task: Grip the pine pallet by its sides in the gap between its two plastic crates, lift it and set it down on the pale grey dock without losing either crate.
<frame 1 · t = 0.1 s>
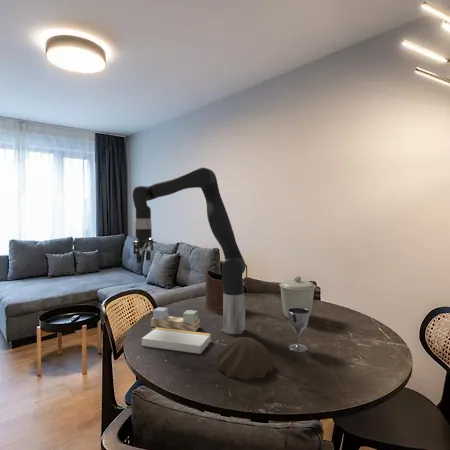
hand: (143, 261, 158), 29 cm above the table, tool pointing down, fingers open, 8 cm apart
decorative dome: (244, 366, 115), on the table
pallet: (175, 327, 151), on the table, touching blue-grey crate, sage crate
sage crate: (190, 320, 149), point 4 cm above the table, touching pallet
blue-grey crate: (160, 317, 153), point 4 cm above the table, touching pallet
wine glass: (298, 348, 129), on the table
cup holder: (225, 308, 180), on the table
canister: (296, 317, 165), on the table
dock: (176, 343, 133), on the table
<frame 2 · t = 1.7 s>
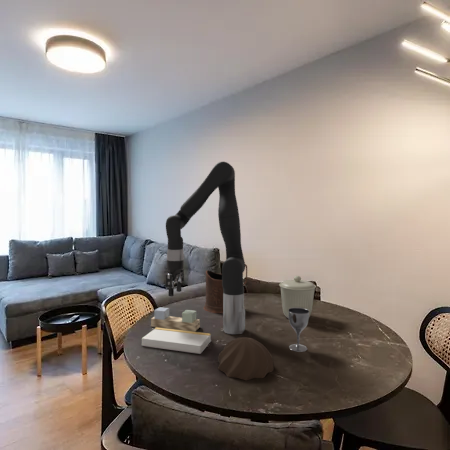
hand: (175, 293, 151), 15 cm above the table, tool pointing down, fingers open, 8 cm apart
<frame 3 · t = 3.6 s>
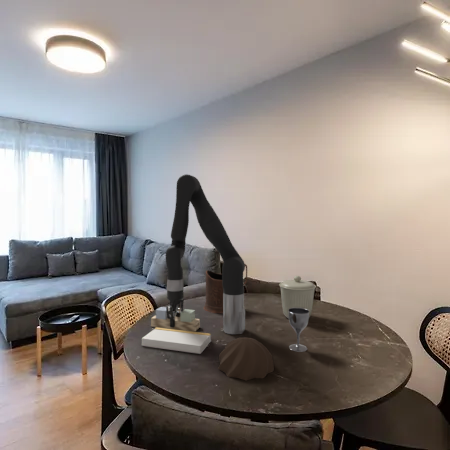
hand: (175, 324, 151), 1 cm above the table, tool pointing down, fingers closed on pallet, 5 cm apart
pallet: (175, 327, 151), on the table, touching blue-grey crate, gripper, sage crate
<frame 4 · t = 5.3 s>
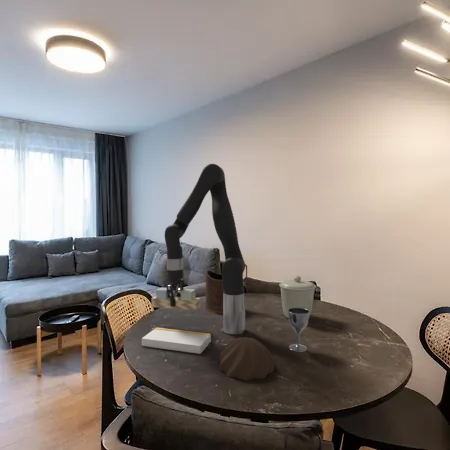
hand: (175, 304, 151), 11 cm above the table, tool pointing down, fingers closed on pallet, 5 cm apart
pallet: (176, 306, 151), point 9 cm above the table, touching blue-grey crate, gripper, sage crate
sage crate: (188, 299, 149), point 14 cm above the table, touching pallet
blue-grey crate: (163, 297, 152), point 13 cm above the table, touching pallet
everything else where it was.
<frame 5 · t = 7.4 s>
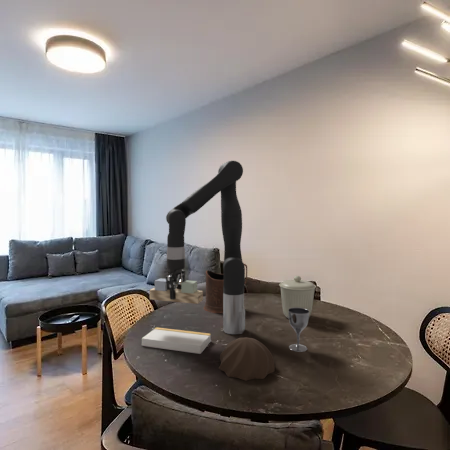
hand: (176, 297, 138), 17 cm above the table, tool pointing down, fingers closed on pallet, 5 cm apart
pallet: (176, 299, 138), point 16 cm above the table, touching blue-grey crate, gripper, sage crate
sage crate: (189, 291, 136), point 20 cm above the table, touching pallet
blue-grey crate: (162, 289, 139), point 20 cm above the table, touching pallet
everything else where it was.
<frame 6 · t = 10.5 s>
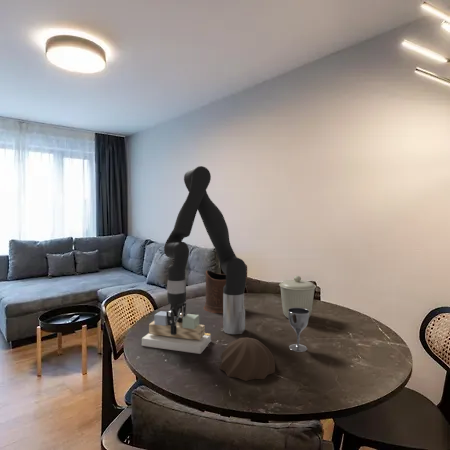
hand: (176, 331, 133), 5 cm above the table, tool pointing down, fingers closed on pallet, 5 cm apart
pallet: (176, 334, 133), point 4 cm above the table, touching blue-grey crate, gripper, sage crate
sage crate: (190, 326, 131), point 8 cm above the table, touching pallet
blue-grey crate: (162, 323, 134), point 8 cm above the table, touching pallet
everything else where it was.
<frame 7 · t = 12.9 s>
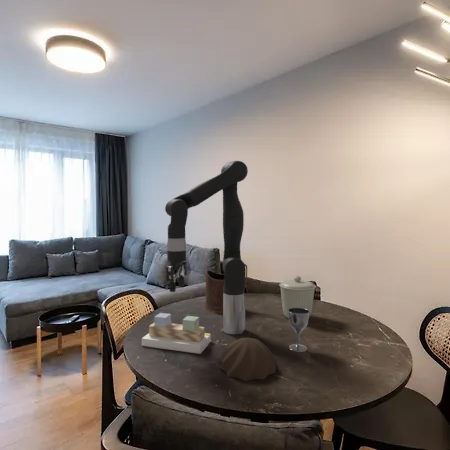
hand: (177, 289, 132), 22 cm above the table, tool pointing down, fingers open, 8 cm apart
pallet: (176, 336, 133), point 3 cm above the table, touching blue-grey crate, dock, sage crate
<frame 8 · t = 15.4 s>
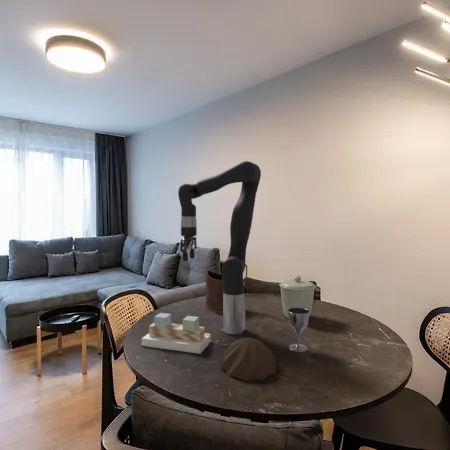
hand: (188, 259, 158), 30 cm above the table, tool pointing down, fingers open, 8 cm apart
at the end: pallet inside the target area (0.0 cm from its centre), point 3.0 cm above the table; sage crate inside the target area on the pallet (1.8 cm from its centre), point 4.0 cm above the pallet's base; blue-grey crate inside the target area on the pallet (1.8 cm from its centre), point 4.0 cm above the pallet's base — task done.
